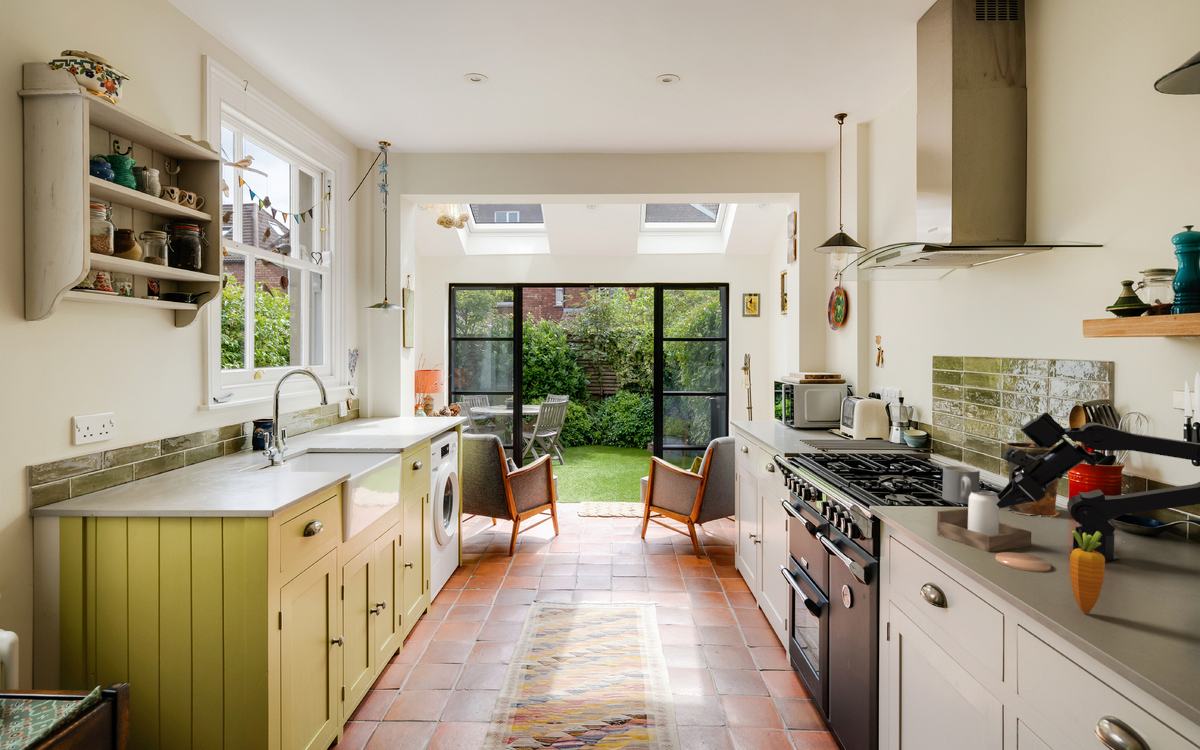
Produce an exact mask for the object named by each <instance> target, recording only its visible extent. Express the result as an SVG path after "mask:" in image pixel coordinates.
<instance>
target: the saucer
mask: <svg viewBox="0 0 1200 750" xmlns="http://www.w3.org/2000/svg"><path fill="white" fill-rule="evenodd" d="M995 561H996V562H997V563H999V564H1001V565H1004V566H1006V567H1009V568H1012V569H1017V570H1020V571H1025V572H1026V571H1028V572H1037V573H1038V572H1039V573H1041V572H1049V571H1050V570H1051V569H1052V564H1051V562H1050V561H1048V560H1046V559H1044V558H1042V557H1038V556H1035V555H1030V554H1027V553H1020V552H1007V551H1006V552H1003V551H1002V552H998V553H996V554H995Z"/></svg>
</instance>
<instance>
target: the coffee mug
mask: <svg viewBox="0 0 1200 750" xmlns="http://www.w3.org/2000/svg"><path fill="white" fill-rule="evenodd" d="M980 472H981V471H980V470H979V469H977V468H974V467H971V466H970V467H969V466H960V465H946V466H945V465H944V466H943V468H942V496H941V497H942V499H943V500H944V501H948V502H952V503H957V504H958V503H959V504H967V505H968V503H969V496H970V494H971V491H972V490H980V475H981V473H980Z"/></svg>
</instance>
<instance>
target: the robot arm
mask: <svg viewBox="0 0 1200 750" xmlns="http://www.w3.org/2000/svg"><path fill="white" fill-rule="evenodd" d="M1019 429H1020V431H1021V432H1022V433H1023V434H1024V435H1025V436H1026V437H1027V438H1029V439H1030V440H1031V442H1034V443H1035V444H1036V445H1037V446H1039V447H1043V446H1045V447H1046V448H1050V447H1052V446H1053V445H1057V446H1055V447H1054V448H1053V449H1051V450H1050V451H1048V452H1047V454H1046V453H1045V454H1044V455H1038V456H1036V457H1032V456H1030V455H1028V454H1026V451H1023V450H1021V449H1020V448H1019V449H1016V448H1014V447H1011V446H1009V447H1008V449H1007V450H1006V451H1005V452H1004V454H1002V459H1003V460H1004V461H1006V462H1007V461H1008V462H1012V463H1014V464H1016V465H1018V466H1016V467H1015V468H1013V469H1014V471H1015V472H1016V471H1017V472H1016V473H1015V472H1014V471H1012V479H1011V481H1010V482H1009V481H1008V483H1007V484H1006V486H1005V487H1004V488H1003V489H1002V490H1001V491H1000V492H999V493H997V494H998V495H997V496H998V498H999V502H998V503H997V504H996V505H997V506H998V507H999V509H1002V508H1005V507H1008V506H1013V505H1018V504H1023V503H1029V502H1035V500H1036V501H1037V502H1038V501H1039V500H1041V499H1042V498H1044V497H1045V490H1044V489H1046V488H1047V485H1049V484H1050V483H1052V482H1053V481H1055V480H1056V479H1058V480H1061V479H1062V478H1064V475H1066V474H1067V473H1068V472H1070V471H1071V470H1072V469H1074V468H1075V467H1077V466H1080V464H1082V463H1083V462H1084V461H1085V462H1086V463H1087V464H1089V465H1090V466H1091V467H1096V458H1097V456H1098V455H1097V454H1096V453H1094V452H1088V451H1087V450H1086V449H1085V448H1084V447H1086V448H1088V449H1089V450H1093V451H1104V452H1105V451H1110V452H1111V451H1113V452H1116V451H1119V452H1120V451H1128V452H1129V451H1132V452H1138V453H1144V454H1151V455H1156V456H1158V455H1159V456H1163V457H1169V458H1170V457H1171V458H1176V459H1182V460H1189V461H1195V462H1198V463H1200V442H1193V441H1186V440H1180V439H1172V438H1166V437H1159V436H1154V435H1153V436H1152V435H1146V434H1139V433H1132V432H1128V431H1125V430H1121V429H1119V428H1115V427H1112V426H1109V425H1105V424H1101V423H1097V422H1086V423H1084V424H1083V425H1081V426H1080V427H1065V428H1064V427H1063V426H1061V424H1059V423H1058V422H1057V421H1056V420H1055V419H1054V418H1053V416H1052V415H1051V414H1049V413H1048V412H1047V411H1045V412H1044V413H1042V414H1040V415H1038V416H1036V417H1035V418H1033V419H1030V420H1029V421H1028V422H1026V423H1025V424H1024V425H1023V426H1022V427H1020V428H1019ZM1064 436H1066V437H1068V438H1069V439H1070V440H1071V441H1074V442H1079V443H1081V444H1082V445H1083V446H1084V447H1083V446H1082V445H1080V444H1079V443H1077V444H1074V445H1073V444H1072V443H1071V442H1069V440H1067V439H1066V438H1065V437H1064ZM1059 442H1060V443H1059ZM1008 462H1007V463H1008ZM1077 493H1078V494H1077V495H1073V496H1072V497H1070V498H1069V500H1068V501H1067V503H1066V508H1067V512H1068V513H1069V515H1070V516H1071V518H1072V519H1073V521H1075V523H1078V524H1079V525H1078V526H1075V530H1074V531H1076V532H1077V533H1078V534H1079V535H1080V537H1081V539H1082V542H1083V533H1086V534H1087V535H1091V536H1092V537H1093V535H1094V534H1095V532H1096V531H1098V532H1100V533H1101V534H1102V536H1101V537H1100V539H1099V540H1098V541H1097V542H1099V543H1101V545H1099V546H1098V547H1097V548H1095V549H1093V550H1094V551H1096V552H1099V553H1101V554H1102V555H1103V556H1104V557H1105V563H1107V562H1111V561H1117V560H1119V557H1118V556H1116V555H1115V536H1116V534H1115V531H1116V527H1115V526H1114V525H1113V524H1112V522H1111V521H1112V520H1113V519H1116V518H1118V517H1120V516H1124V515H1128V514H1137V513H1138V514H1139V513H1143V512H1144V513H1145V512H1152V511H1158V510H1159V511H1160V510H1167V509H1174V508H1182V507H1188V506H1196V505H1200V481H1199V482H1196V483H1193V484H1185V485H1177V486H1173V487H1167V488H1165V487H1164V488H1158V489H1151V490H1146V491H1139V492H1131V493H1125V494H1124V493H1123V494H1118V495H1105V493H1103V492H1102V490H1101V489H1094V490H1090V491H1088V492H1083V491H1082V492H1081V491H1078V492H1077ZM1091 539H1092V538H1091ZM1091 539H1090V540H1091ZM1075 549H1082V548H1081V547H1080V545H1079V543H1078V541H1077V540H1076V538H1075V536H1074V535H1073V534H1072V550H1070V551H1069V554H1070V555H1071V552H1072V551H1073V550H1075Z"/></svg>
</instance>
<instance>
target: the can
mask: <svg viewBox="0 0 1200 750" xmlns="http://www.w3.org/2000/svg"><path fill="white" fill-rule="evenodd" d="M998 494H999V493H998V492H995V491H992V490H991V491H990V490H985V489H979V490H972V491H971V494H970V496H969V503H968V504H967V506H968V507H967V508H968V530H971V531H974V532H978V533H981V534H984V535H987V536H991V535H999V523H1000V508H999V507H998V506H997V505H996V504H997V503H998V502H999V501H1000V500H999V498H998Z"/></svg>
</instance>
